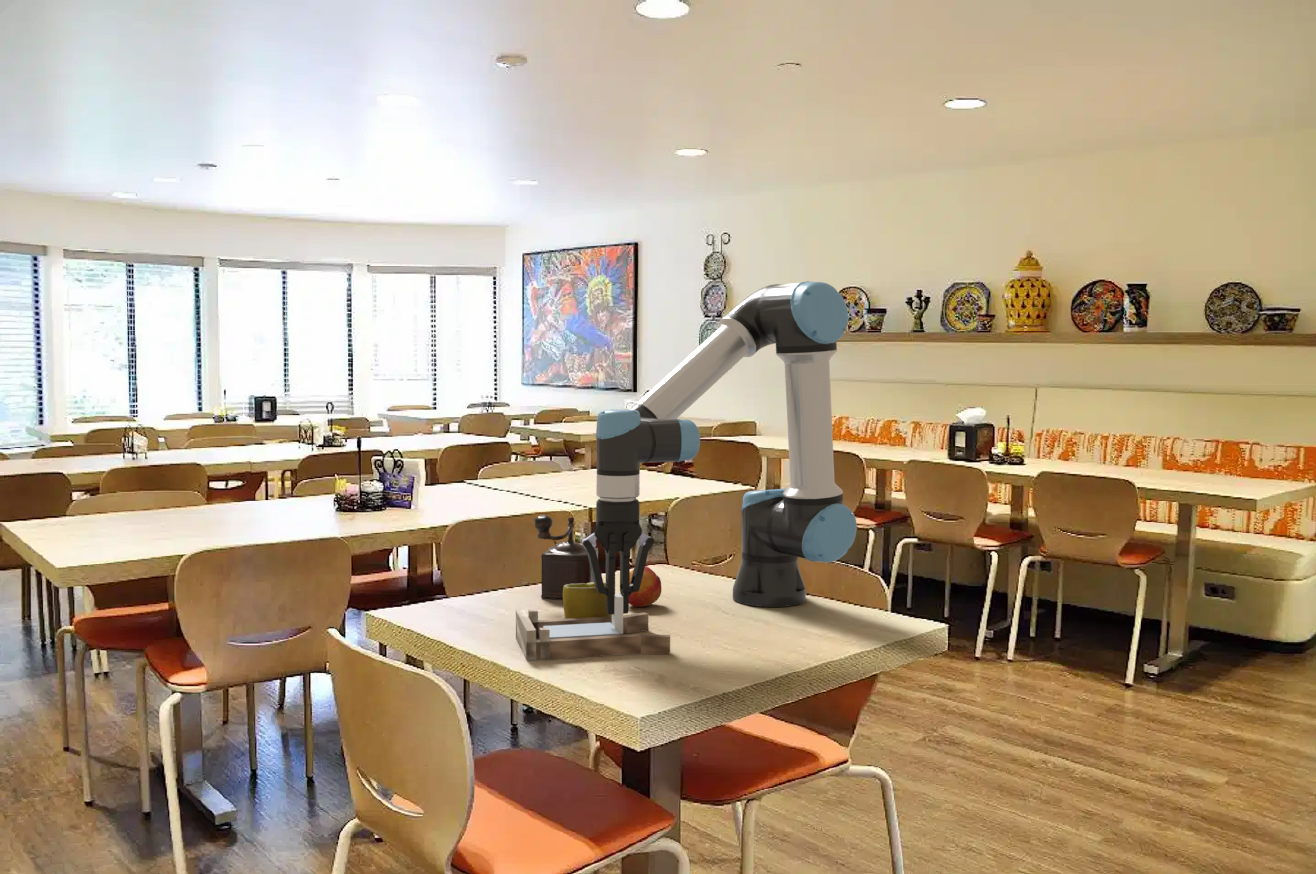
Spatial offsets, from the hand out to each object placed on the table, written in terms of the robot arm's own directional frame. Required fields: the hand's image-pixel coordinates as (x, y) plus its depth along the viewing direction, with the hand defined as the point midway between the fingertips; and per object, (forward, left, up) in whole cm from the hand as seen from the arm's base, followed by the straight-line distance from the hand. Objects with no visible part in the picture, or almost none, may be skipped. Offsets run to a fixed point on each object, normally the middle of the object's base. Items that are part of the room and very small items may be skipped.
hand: (617, 632), depth 192 cm
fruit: (-11, -27, -2) cm, 29 cm away
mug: (+2, -14, -2) cm, 14 cm away
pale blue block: (+7, +1, -2) cm, 7 cm away
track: (+5, 0, -2) cm, 5 cm away
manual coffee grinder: (+3, -39, -2) cm, 39 cm away
